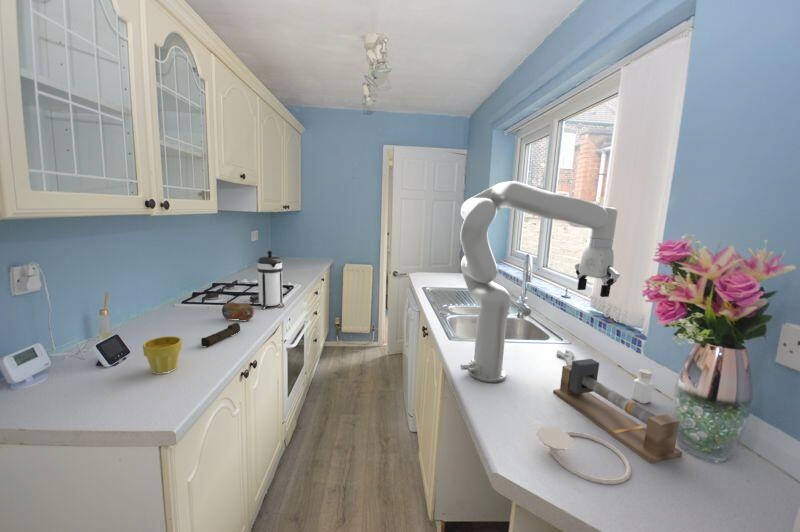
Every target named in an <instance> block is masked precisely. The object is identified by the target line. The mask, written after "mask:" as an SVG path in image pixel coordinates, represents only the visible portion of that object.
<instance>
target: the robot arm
mask: <svg viewBox="0 0 800 532" xmlns="http://www.w3.org/2000/svg"><path fill="white" fill-rule="evenodd" d="M460 207H461V208H460V215H461V217H462V220H463V222H462V224H461V228H460V233H459V235H460V236H459V238H460V243H461V247H462V250H463V256H462V259H461V261H460V270H461V274H462V275H463V279H464V282H465V285H466V287H467V291H468V293H469V295H470V297H471V299H472V300H473V301H474V302H475V303H476V304H477V305H478V306H479V313H478V316H477V320H476V328H475V329H476V330H475V343H474V344H475V345H474V354H473V355H474V356H473V359H470V362H468V363H461V364H460V366H459V367H460V370H461V371H465V370H467V373H468V374H469V375H470V376H471V377H472V378H474V379H476V380H478V381H482V382H486V383H500V382H503V381H504V380H505V379H507V372H506V370H504V369H503V365H504V364H503V361H504V351H505V350H504V349H505V340H506V330H507V320H508V316H509V311H510V308H511V303H512V302H511V301H512V300H511V295H510V293H509V292H508V290H507V289H506V288H505V287H504V286H503V285H500V284H498V283H496V282H495V281H494V280H495V279H496V278H497V275H498V265H497V262H496V259H495V257H494V254H493V251H492V248H491V245H490V241H489V234H488V233H489V230H490V227H491V226H492V223H493V222H494V220H495V219H496V217H497V213H498V211H500V210H502V209H503V208H504V209H505V208H506V209H507V208H508V209H512V210H514V211H518V212H522V213H525V214H529V215H531V216H534V217H538V218H542V219H548V220H554V221H555V220H557V221H563V222H566V223H567V224H568V225H569V226H570V227H574V228H578V229H579V228H581V229H588V236H587V239H586V240H585V241H586V246H584V248H583V250H582V252H581V256H580V260H579V263H577V264H575V265H574V268H575V274H576V275H577V279H578V282H577V291H585V290H587V284H588V278H587V277H590V278H594V279H601V281H602V284H601V288H600V294H599V296H600V297H601V298H609V297H610V293H611V286H613V285H614V284H615V283H616V282H617V280H618V279H619V277H620V273H619V272H618V271H616V270H615V269H614V258H615V257H614V249H613V245H614V238H615V232H616V225H617V218H618V213H619V212H618V210H617V208H616V207H612V206H602V205H600V204H597V203H594V202H592V201H589V200H585V199H582V198H577V197H574V196H569V195H565V194H561V193H559V192H558V193H557V192H552V191H549V190H545V189H542V188H539V187H535V186H532V185H530V184H527V183H525V182H524V183H523V182H521V181H517V180H510V181H504V182H499V183H496V184H495V185H492V186H491V187H489V188H486V189H485V190H483V191H482V192H479V193H478V194H476V195H474V196H472V197H470V198H468V199H466V200H465V201H464V202H463V203H462V205H461V206H460Z"/></svg>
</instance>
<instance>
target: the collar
mask: <svg viewBox="0 0 800 532" xmlns="http://www.w3.org/2000/svg"><path fill="white" fill-rule="evenodd" d="M599 367H600V362H598V361H596V359H595V360H594V359H592V358H586V359H578V360H572V368H571V376H570V384H569V389H570V390H571V391H573V392H574V393H576V394H580V393H587V392H589V393H592V392H593V393H595V392H594V391H592V390H590V389H589V388H587V387H586V386H584V385H582V379H583V376H589V377H590V378H592V379H594V380H596V381H597V382H598V375H599V370H600V369H599Z"/></svg>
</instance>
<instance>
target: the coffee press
mask: <svg viewBox="0 0 800 532" xmlns="http://www.w3.org/2000/svg"><path fill="white" fill-rule="evenodd" d="M283 262H284V261H283V259H282V257H281V256H279V255H275V254H273V252H272V250H268V251H267V254H266V255H260V256H259V257H258V259H257V260H256V263H257V280H258V282H257V283H258V284H257V285H258V302H259V303H260V304H261V305H260V306H262V307H263V308H264V307H265V306H267V307H274V306H275V307H276V306H279V307H280V308H284V307H285V304H284V302H283V300H284V299H283ZM262 307H261V308H262Z"/></svg>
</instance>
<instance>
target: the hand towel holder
mask: <svg viewBox="0 0 800 532" xmlns="http://www.w3.org/2000/svg"><path fill="white" fill-rule="evenodd" d="M536 437H537V439H539V440H540V442H541V443H542V444H543V445H544V446H547V447H549V448H548V451H547V452H548V454H549V455H551V456H553V458H554V460H555V461H556V462H558V463H559V464H560V465H561V467H563V468H564V469H565V470H567V471H568V472H570V473H571V474H573V475H575V476H578V477H580V478H582V479H584V480H587V481H589V482H592V483H597V484H602V485H617V484H622V483H624V482H625V481H627V480H629V478H630V476H631V475H632V467H631V464H630V463H629V460H628V458H627V457H626V456H625V455H624V454H623V453H622V452H621V450H619V449H618V448H617V447H616V446H614V445H613V444H611V443H609V442H607V441H606V440H604V439H602V438H600V437H598V436H594V435H592V434H589V433H585V432H579V431H564V430H561V429H559V428H556V427H552V426H542V427H541V428H538V429H536ZM573 437H580V438H583V439H587V438H588V440H591V441H594V442H597V443H599V444H600V445H603V446H605V447H607V448H608V449H610V450H611V451H612V452H613V453H615V454H616V455H618V457H619V458H620V459H621V460H622V462H623V463H624V465H625V472H624V473H623V475H622V476H620V477H617V478H601V477H596V476H592V475H590V474H586V473H584V472H581V471H579V470H577V468H576V469H575V468H573V467H571V466H570V465H569V464H568V463H566V462H565V461H564V460H563V459H561V457H560V456H558V455H559V453H558V450H560V451H566V450H568V449H570V448H572V447H574V438H573Z"/></svg>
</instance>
